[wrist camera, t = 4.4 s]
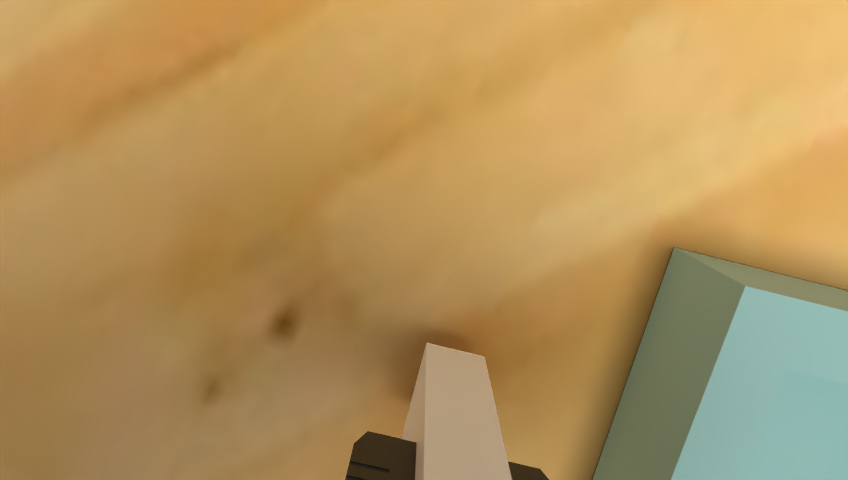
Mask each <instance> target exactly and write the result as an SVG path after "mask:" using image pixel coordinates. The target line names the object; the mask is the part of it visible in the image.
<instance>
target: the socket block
mask: <svg viewBox="0 0 848 480" xmlns="http://www.w3.org/2000/svg"><path fill="white" fill-rule="evenodd" d="M592 480H848V291H846V290H842V289H838V288H834V287H830V286H826V285H822V284H818V283H814V282H810V281H806V280H803V279H799V278H795V277H791V276H787V275H783V274H779V273H775V272H771V271H767V270H763V269H759V268H755V267H751V266H747V265H743V264H739V263H735V262H731V261H727V260H723V259H719V258H715V257H711V256H707V255H703V254H699V253H695V252H691V251H687V250H683V249H679V248H675V247H674V249H673V252H672V255H671V257H670V260H669V263H668V266H667V269H666V272H665V274H664V277H663V280H662V283H661V286H660V289H659V292H658V294H657V297H656V300H655V303H654V306H653V309H652V311H651V314H650V317H649V320H648V323H647V326H646V328H645V331H644V334H643V337H642V340H641V343H640V345H639V348H638V351H637V354H636V357H635V360H634V363H633V365H632V368H631V371H630V374H629V377H628V380H627V382H626V385H625V388H624V391H623V394H622V397H621V399H620V402H619V405H618V408H617V411H616V414H615V416H614V419H613V422H612V425H611V428H610V431H609V433H608V436H607V439H606V442H605V445H604V448H603V451H602V453H601V456H600V459H599V462H598V465H597V468H596V470H595V473H594V476H593V479H592Z"/></svg>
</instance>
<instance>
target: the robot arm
mask: <svg viewBox="0 0 848 480" xmlns="http://www.w3.org/2000/svg"><path fill="white" fill-rule="evenodd" d="M345 480H549V479H548V478H547V477H546V476H545V474H544V473H543V472H542V471H541V470H540V469H538V468H534V467H529V466H525V465H521V464H516V463H512V462H508V460H507V455H506V450H505V446H504V441H503V437H502V432H501V428H500V423H499V419H498V414H497V409H496V405H495V400H494V396H493V391H492V387H491V382H490V378H489V373H488V369H487V364H486V359H485V356H481V355H477V354H473V353H469V352H464V351H460V350H456V349H452V348H447V347H443V346H439V345H435V344H431V343H426V347H425V350H424V354H423V358H422V362H421V365H420V369H419V373H418V377H417V381H416V384H415V388H414V392H413V396H412V400H411V403H410V407H409V411H408V415H407V418H406V422H405V426H404V430H403V434H402V437H401V439H399V438H395V437H390V436H386V435H382V434H377V433H373V432H369V431H368V432H367V433H365V434H364V435H363V436H362V437H361V438H360V439H359V440H358V441H357V442H355V443H354V446H353V451H352V455H351V459H350V463H349V467H348V471H347V475H346V479H345Z"/></svg>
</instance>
